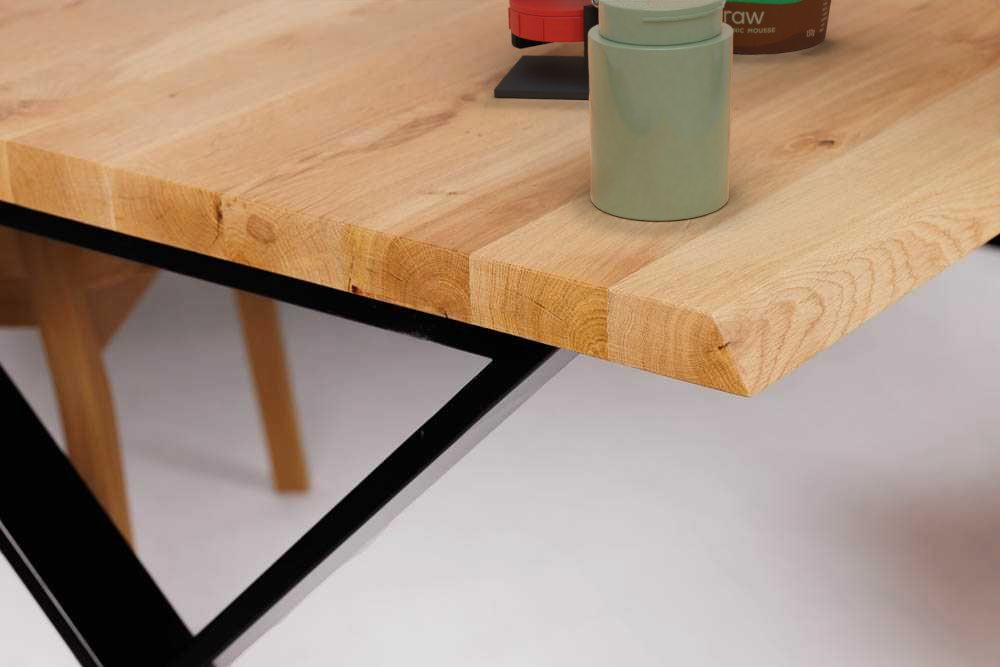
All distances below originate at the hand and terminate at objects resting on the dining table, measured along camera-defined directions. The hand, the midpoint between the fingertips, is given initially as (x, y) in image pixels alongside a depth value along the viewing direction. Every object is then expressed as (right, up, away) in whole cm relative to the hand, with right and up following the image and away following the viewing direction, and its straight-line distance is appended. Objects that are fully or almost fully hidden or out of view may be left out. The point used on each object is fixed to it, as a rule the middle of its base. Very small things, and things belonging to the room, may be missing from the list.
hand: (570, 55), depth 88 cm
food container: (+12, +2, +6) cm, 14 cm away
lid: (0, +3, -1) cm, 3 cm away
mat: (0, -1, +1) cm, 2 cm away
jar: (+3, -10, -19) cm, 22 cm away
